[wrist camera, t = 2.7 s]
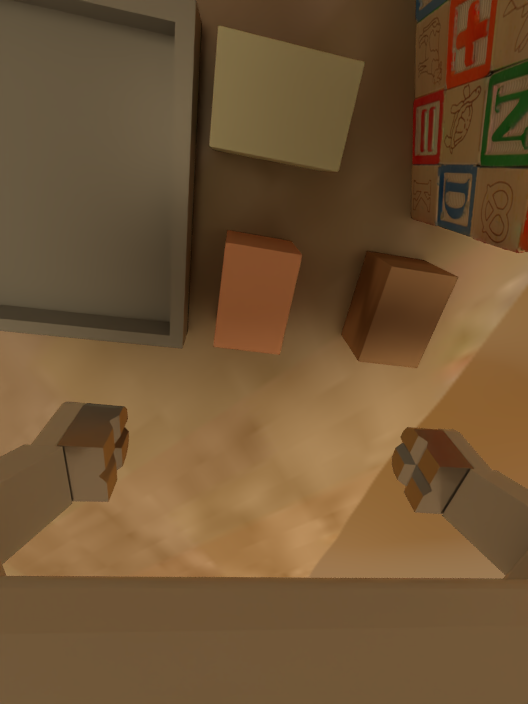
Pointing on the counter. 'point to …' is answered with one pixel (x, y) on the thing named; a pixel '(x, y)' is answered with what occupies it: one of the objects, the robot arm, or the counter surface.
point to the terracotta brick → (256, 292)
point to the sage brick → (281, 101)
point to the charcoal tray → (98, 167)
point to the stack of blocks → (472, 119)
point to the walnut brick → (395, 309)
